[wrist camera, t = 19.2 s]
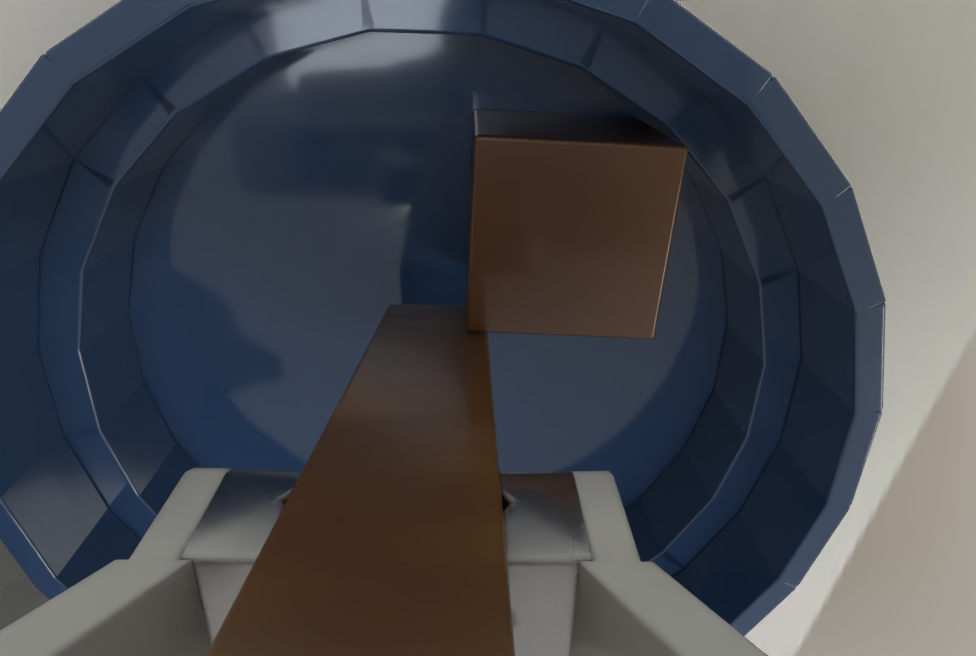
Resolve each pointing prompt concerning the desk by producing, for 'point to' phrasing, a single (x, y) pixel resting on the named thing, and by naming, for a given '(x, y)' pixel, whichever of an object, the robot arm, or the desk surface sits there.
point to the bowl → (415, 271)
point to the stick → (391, 512)
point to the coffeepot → (16, 590)
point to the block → (569, 224)
